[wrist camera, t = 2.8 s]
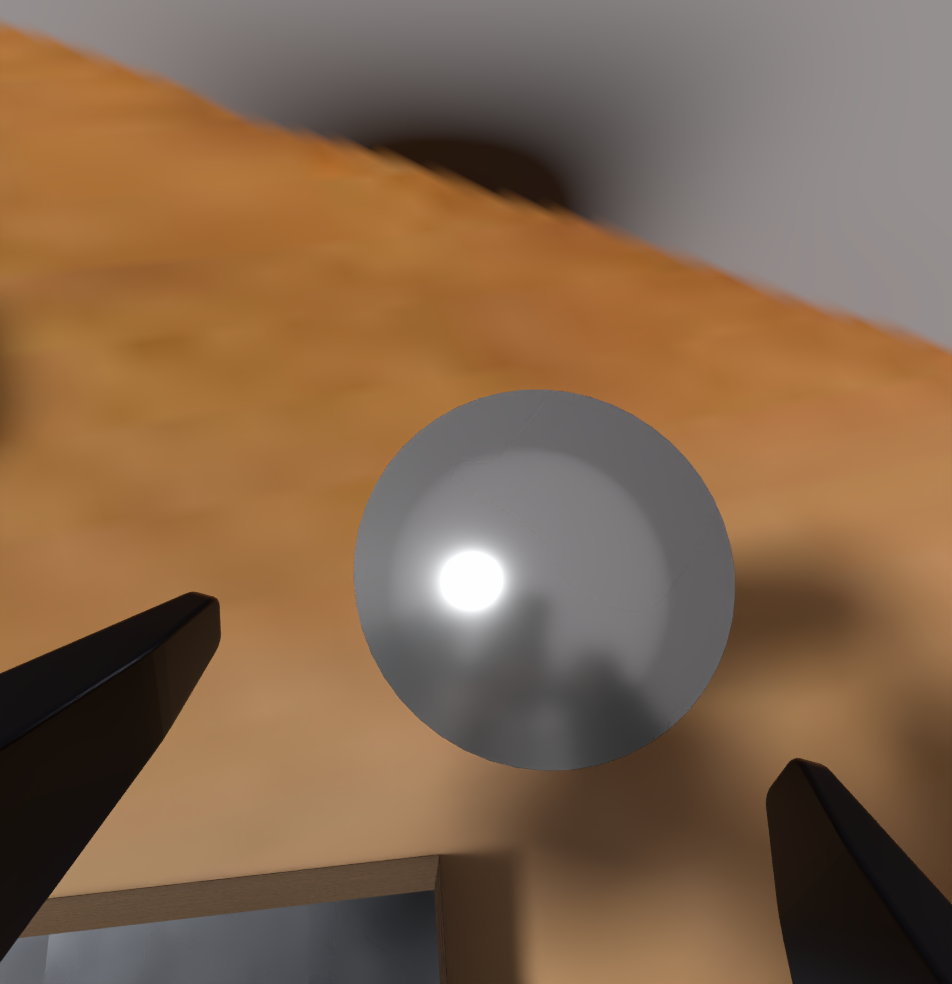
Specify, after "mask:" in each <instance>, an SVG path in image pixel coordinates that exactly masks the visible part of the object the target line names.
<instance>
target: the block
mask: <svg viewBox="0 0 952 984" xmlns="http://www.w3.org/2000/svg"><path fill="white" fill-rule="evenodd" d="M0 984H447V974H446V958H445V943H444V927H443V911H442V896H441V880H440V865H439V855H432V856H423V857H415V858H406V859H397V860H388V861H379V862H371V863H362V864H353V865H344V866H335V867H326V868H318V869H309V870H300V871H291V872H282V873H274V874H265V875H256V876H247V877H238V878H230V879H221V880H212V881H203V882H194V883H186V884H177V885H168V886H159V887H150V888H141V889H133V890H124V891H115V892H106V893H97V894H89V895H80V896H71V897H62V898H53V899H47V900H46V901H45V902H44V904H43V905H42V907H41V908H40V909H39V911H38V912H37V913H36V915H35V916H34V917H33V919H32V920H31V922H30V923H29V924H28V926H27V927H26V928H25V930H24V931H23V932H22V934H21V935H20V937H19V938H18V939H17V941H16V942H15V943H14V945H13V946H12V947H11V949H10V950H9V952H8V953H7V954H6V956H5V957H4V958H3V960H2V961H1V962H0Z"/></svg>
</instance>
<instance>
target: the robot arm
mask: <svg viewBox="0 0 952 984" xmlns="http://www.w3.org/2000/svg"><path fill="white" fill-rule="evenodd" d="M220 638H221V626H220V605H219V601H218V600H217V598H215V597H213V596H209V595H206V594H202V593H198V592H189V593H186V594H183V595H181V596H179V597H177V598H174V599H172V600H170V601H167V602H165V603H163V604H160V605H158V606H156V607H153V608H151V609H149V610H146V611H144V612H142V613H139V614H137V615H135V616H132V617H130V618H128V619H125V620H123V621H121V622H118V623H116V624H114V625H112V626H109V627H107V628H105V629H102V630H100V631H98V632H95V633H93V634H91V635H88V636H86V637H84V638H81V639H79V640H77V641H74V642H72V643H70V644H67V645H65V646H63V647H60V648H58V649H56V650H54V651H51V652H49V653H47V654H44V655H42V656H40V657H37V658H35V659H33V660H30V661H28V662H26V663H23V664H21V665H19V666H16V667H14V668H12V669H9V670H7V671H5V672H2V673H0V962H1V961H2V960H3V958H4V957H5V956H6V954H7V953H8V952H9V950H10V949H11V947H12V946H13V945H14V943H15V942H16V941H17V939H18V938H19V937H20V935H21V934H22V932H23V931H24V930H25V928H26V927H27V926H28V924H29V923H30V922H31V920H32V919H33V917H34V916H35V915H36V913H37V912H38V911H39V909H40V908H41V907H42V905H43V904H44V902H45V901H46V900H47V898H48V897H49V896H50V894H51V893H52V892H53V890H54V889H55V887H56V886H57V885H58V883H59V882H60V881H61V879H62V878H63V877H64V875H65V874H66V872H67V871H68V870H69V868H70V867H71V866H72V864H73V863H74V861H75V860H76V859H77V857H78V856H79V855H80V853H81V852H82V851H83V849H84V848H85V846H86V845H87V844H88V842H89V841H90V840H91V838H92V837H93V836H94V834H95V833H96V831H97V830H98V829H99V827H100V826H101V825H102V823H103V822H104V821H105V819H106V818H107V816H108V815H109V814H110V812H111V811H112V810H113V808H114V807H115V806H116V804H117V803H118V801H119V800H120V799H121V797H122V796H123V795H124V793H125V792H126V791H127V789H128V788H129V786H130V785H131V784H132V782H133V781H134V780H135V778H136V777H137V775H138V774H139V773H140V771H141V770H142V769H143V767H144V766H145V765H146V763H147V762H148V760H149V759H150V758H151V756H152V755H153V754H154V752H155V751H156V749H157V748H158V746H159V745H160V744H161V742H162V741H163V739H164V738H165V736H166V735H167V733H168V731H169V730H170V728H171V727H172V725H173V723H174V722H175V720H176V718H177V717H178V715H179V713H180V711H181V710H182V708H183V706H184V705H185V703H186V701H187V700H188V698H189V696H190V694H191V693H192V691H193V689H194V688H195V686H196V684H197V683H198V681H199V679H200V677H201V676H202V674H203V672H204V671H205V669H206V667H207V666H208V664H209V662H210V660H211V659H212V657H213V655H214V654H215V652H216V650H217V648H218V646H219V642H220ZM766 810H767V819H768V828H769V836H770V845H771V854H772V863H773V872H774V880H775V889H776V898H777V905H778V912H779V919H780V924H781V929H782V935H783V940H784V945H785V949H786V954H787V959H788V964H789V968H790V973H791V978H792V982H793V984H952V904H951V903H950V902H949V901H948V900H947V899H946V897H945V896H944V895H943V894H942V893H941V892H940V891H939V890H938V889H937V888H936V886H935V885H934V884H933V883H932V882H931V881H930V880H929V879H928V878H927V877H926V875H925V874H924V873H923V872H922V871H921V870H920V869H919V868H918V867H917V866H916V864H915V863H914V862H913V861H912V860H911V859H910V858H909V857H908V856H907V855H906V853H905V852H904V851H903V850H902V849H901V848H900V847H899V846H898V845H897V844H896V842H895V841H894V840H893V839H892V838H891V837H890V836H889V835H888V834H887V833H886V831H885V830H884V829H883V828H882V827H881V826H880V825H879V824H878V823H877V821H876V820H875V819H874V818H873V817H872V816H871V815H870V814H869V813H868V812H867V810H866V809H865V808H864V807H863V806H862V805H861V804H860V803H859V802H858V801H857V799H856V798H855V797H854V796H853V795H852V794H851V793H850V792H849V791H848V790H847V788H846V787H845V786H844V785H843V784H842V783H841V782H840V781H839V780H838V779H837V777H836V776H835V775H834V774H833V773H832V772H831V771H830V770H829V769H828V768H827V767H825V766H824V765H822V764H819V763H815V762H812V761H808V760H804V759H801V758H795V759H793V760H791V761H790V762H789V763H788V764H787V766H786V767H785V768H784V770H783V771H782V772H781V774H780V775H779V776H778V778H777V779H776V780H775V782H774V783H773V784H772V786H771V787H770V789H769V791H768V793H767V798H766Z"/></svg>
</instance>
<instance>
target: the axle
mask: <svg viewBox="0 0 952 984" xmlns="http://www.w3.org/2000/svg"><path fill="white" fill-rule="evenodd" d="M354 586H355V596H356V605H357V609H358V613H359V618H360V622H361V626H362V630H363V633H364V635H365V638H366V641H367V643H368V646H369V649H370V651H371V654H372V656H373V657H374V659H375V661H376V663H377V665H378V667H379V669H380V670H381V672H382V674H383V676H384V678H385V679H386V680H387V682H388V683H389V685H390V686H391V687H392V689H393V690H394V691H395V693H396V694H397V696H398V697H399V698H400V699H401V701H402V702H403V703H404V704H405V705H406V706H407V707H408V708H409V709H410V710H411V711H412V712H413V713H414V714H415V715H416V716H417V717H418V718H419V719H420V720H421V721H422V722H424V723H425V724H426V725H427V726H429V727H430V728H431V729H432V730H434V731H435V732H436V733H437V734H439V735H440V736H441V737H443V738H445V739H447V740H448V741H450V742H452V743H453V744H455V745H457V746H458V747H460V748H462V749H463V750H465V751H468V752H470V753H473V754H475V755H477V756H480V757H482V758H485V759H487V760H490V761H493V762H497V763H501V764H505V765H508V766H512V767H516V768H524V769H533V770H542V771H555V770H574V769H580V768H585V767H591V766H596V765H601V764H604V763H607V762H609V761H612V760H615V759H618V758H621V757H624V756H626V755H628V754H630V753H632V752H634V751H636V750H638V749H640V748H642V747H644V746H646V745H648V744H649V743H651V742H652V741H654V740H655V739H656V738H658V737H659V736H661V735H662V734H663V733H665V732H666V731H668V730H669V729H670V728H671V727H672V726H673V725H674V724H675V723H676V722H678V721H679V720H680V719H681V718H682V717H683V716H684V715H685V714H686V713H687V712H688V711H689V710H690V708H691V707H692V706H693V705H694V703H695V702H696V701H697V699H698V698H699V697H700V695H701V694H702V693H703V692H704V690H705V689H706V687H707V685H708V683H709V682H710V680H711V678H712V676H713V674H714V673H715V671H716V669H717V667H718V665H719V662H720V660H721V657H722V655H723V652H724V649H725V647H726V644H727V641H728V636H729V632H730V628H731V624H732V620H733V611H734V600H735V575H734V564H733V558H732V552H731V546H730V542H729V538H728V535H727V532H726V528H725V525H724V522H723V519H722V517H721V515H720V512H719V510H718V508H717V505H716V503H715V501H714V499H713V497H712V495H711V494H710V492H709V490H708V488H707V487H706V485H705V483H704V482H703V480H702V478H701V477H700V476H699V474H698V473H697V472H696V470H695V469H694V468H693V466H692V465H691V464H690V463H689V461H688V460H687V459H686V458H685V457H684V456H683V455H682V454H681V452H680V451H679V450H678V449H677V448H676V447H675V446H674V445H673V444H672V443H671V442H670V441H669V440H667V439H666V438H665V437H664V436H662V435H661V434H660V433H659V432H657V431H656V430H655V429H654V428H653V427H651V426H650V425H648V424H646V423H645V422H643V421H642V420H640V419H639V418H637V417H635V416H634V415H632V414H630V413H628V412H626V411H624V410H622V409H620V408H618V407H616V406H614V405H612V404H609V403H606V402H603V401H600V400H597V399H594V398H592V397H588V396H584V395H579V394H575V393H570V392H563V391H553V390H519V391H512V392H504V393H499V394H495V395H491V396H487V397H483V398H479V399H477V400H474V401H472V402H469V403H467V404H464V405H462V406H459V407H457V408H455V409H453V410H451V411H450V412H448V413H446V414H444V415H442V416H440V417H439V418H437V419H436V420H434V421H433V422H432V423H430V424H429V425H427V426H426V427H425V428H423V429H422V430H420V431H419V432H418V433H417V434H416V435H415V436H414V437H413V438H412V439H411V440H410V441H409V442H408V443H406V444H405V445H404V446H403V447H402V449H401V450H400V451H399V452H398V453H397V455H396V456H395V457H394V458H393V459H392V461H391V462H390V463H389V464H388V466H387V467H386V469H385V471H384V472H383V474H382V475H381V477H380V479H379V480H378V482H377V483H376V485H375V487H374V489H373V492H372V494H371V496H370V498H369V500H368V503H367V505H366V507H365V511H364V514H363V517H362V520H361V523H360V527H359V531H358V537H357V543H356V548H355V558H354Z"/></svg>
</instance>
